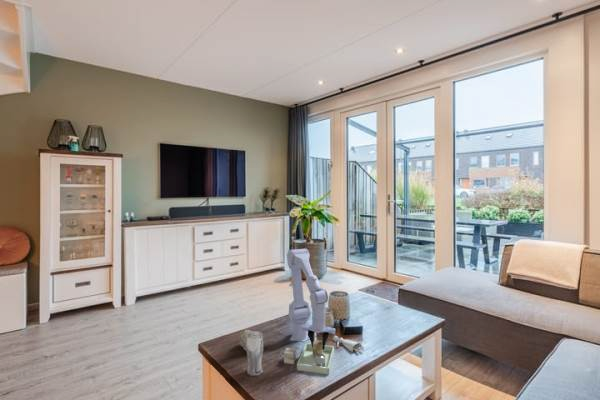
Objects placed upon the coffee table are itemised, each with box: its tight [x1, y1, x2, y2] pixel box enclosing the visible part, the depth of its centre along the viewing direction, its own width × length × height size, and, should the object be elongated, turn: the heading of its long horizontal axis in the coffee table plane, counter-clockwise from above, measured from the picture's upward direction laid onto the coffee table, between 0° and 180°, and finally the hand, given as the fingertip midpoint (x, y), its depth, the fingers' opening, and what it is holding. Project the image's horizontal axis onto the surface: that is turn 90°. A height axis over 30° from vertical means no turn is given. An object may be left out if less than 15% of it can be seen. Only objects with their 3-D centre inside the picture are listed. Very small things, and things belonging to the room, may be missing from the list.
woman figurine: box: [332, 334, 364, 353], centre depth 146 cm, size 12×4×18 cm
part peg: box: [315, 354, 325, 367], centre depth 127 cm, size 4×4×5 cm
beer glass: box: [245, 330, 264, 377], centre depth 126 cm, size 7×7×15 cm
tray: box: [296, 342, 335, 376], centre depth 133 cm, size 18×13×3 cm
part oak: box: [313, 339, 323, 356], centre depth 137 cm, size 4×4×5 cm
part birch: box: [283, 347, 297, 365], centre depth 133 cm, size 4×4×5 cm
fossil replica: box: [239, 329, 254, 352], centre depth 144 cm, size 12×8×10 cm
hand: (318, 348), depth 137 cm, fingers closed on part oak, 4 cm apart
